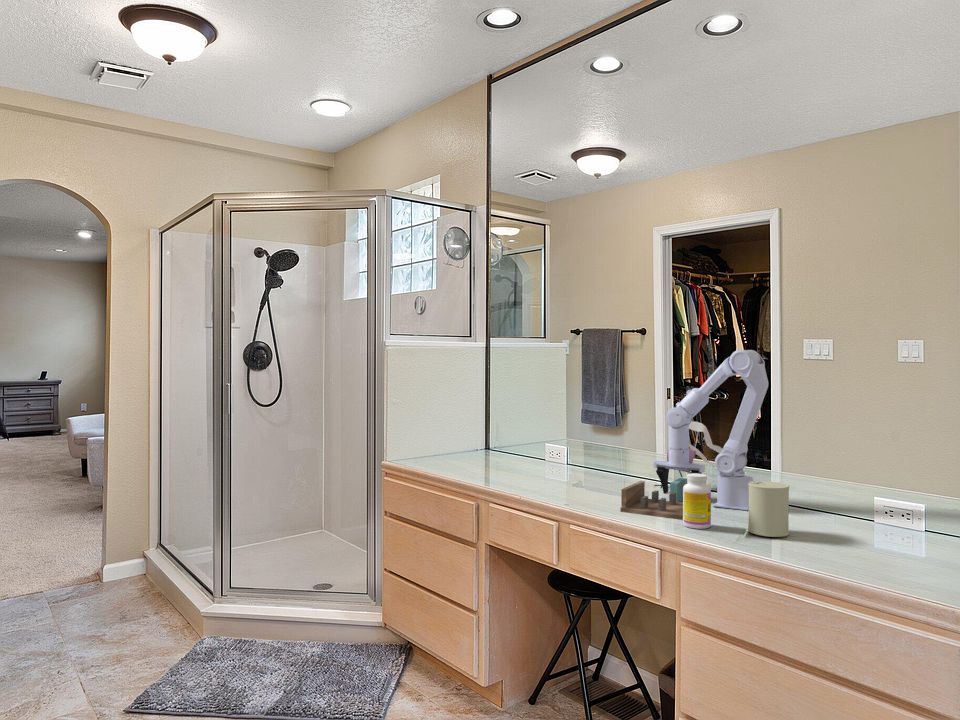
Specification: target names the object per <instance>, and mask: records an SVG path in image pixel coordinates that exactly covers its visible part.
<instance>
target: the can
mask: <svg viewBox="0 0 960 720" xmlns="http://www.w3.org/2000/svg"><path fill="white" fill-rule="evenodd" d="M748 485H749V510H748V524H747V525H748V528H747V531H748V532H749V533H751V534H754V535H756V536H762V537H771V538H780V537H781V538H783V537H787V536H789V535H790V529H789V528H790V527H789V507H790V506H789V502H790V501H789V498H790V497H789V496H790V494H789V493H790V485H789V484H787V483H783V482H779V481H767V480H755V481H754V480H753V482H749V483H748Z"/></svg>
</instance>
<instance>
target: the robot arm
mask: <svg viewBox="0 0 960 720" xmlns="http://www.w3.org/2000/svg"><path fill="white" fill-rule="evenodd" d="M765 363H766V362H765V360H764V359H763V357H762V356H761V355H760V353H759V352H758V351H756V350H753V349H747V350H746V349H736V350H735V351H733V352H732V353H731V355H730V356H728V357H727V358H725V359H724V360H723V362H722V363H720V365H719V366H718V367H717V368H716V369H715V370H714V371H713V373H712V374H711V375H710V376H709V377H708V378H707V379H706V380H705V382H704V383H703V384H702V385H701V386H700V387H699V388H698V387H694V388H692V389H688V390H687V391H686V392H685V393H686V395H685V396H684V397H683V399H681V401H677V403H676V404H675V406H674V407H671V408H670V409H668V411H667V413H666V415H665V420H666V423H667V424H668V449H669V461H665V460H664V461H663V460H654V461H653V469H656V470H655V473H656V474H657V478H658V479H659V480H660V485H661V484H662V491H663V492H662V493H663V495H664V494H668V492H669V490H668V489H669V484H668V482H669V472H670V470H674V469H675V470H677V471H679V470H685V471H690V472H689V473H688V474H691V473H697V474H704V472H705V470H706V468H705V467H706V465H705V464H698V463H697V464H696V463H689V449H690V447H689V443H690V429H689V424H690V423H691V422H693V418H695V416H696V415H697V414H698V413H699V412H701V410H702V409H703V408H704V407H706V405H707V404H708V403H710V402H709V401H710V397H709V396H710V395H711V394H712V393H713V392H714V391H715V390H717V389H718V388H719V387H720V385H722V384H723V383H724V382H725V381H726V380H727V379H728V378H729V377H733V376H736V375H739V376H740V377H741V379H742V381H743V382H744V384H745V385H746V389H745V391H744V395H743V397H742V400H741V403H740V406H739V409H738V413H737V415H736V418H735V420H734V423H733V426H732V428H731V431H730V434H729V436H728V437H729V438H728V440H727V441H726V442H725V443H724V446H723V448H722V449H723V450H722V452H721V453H718V454H717V456H716V457H715V459H714V466H715V467H716V468H715V467H714V468H715V469H716V470H717V472H716V473H717V474H716V475H717V478H716V479H717V483H716V484H717V485H716V486H717V487H716V488H717V491H716V493H717V496H716V497H717V498H716V499H717V501H715V503H714V504H712V506H713V507H716V508H724V509H731V510H732V509H733V510H741V511H749V485H748V483H749V482H753V481H754V478H753V476H748V475H745V471H744V469H745V467H746V466H747V463H748V459H747V453H748V450H749V449H748V443H749V441H750V437H751V435H752V432H753V429H754V427H755V424H756V421H757V418H758V415H759V413H760V410H761V408H762V404H763V402H764V398H765V396H766V394H767V391H768V388H769V380H768V375H767V371H766V367H765V366H766V364H765ZM674 467H677V468H674ZM675 470H674V471H675Z"/></svg>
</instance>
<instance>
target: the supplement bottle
mask: <svg viewBox="0 0 960 720" xmlns="http://www.w3.org/2000/svg"><path fill="white" fill-rule="evenodd" d="M686 478H687V484H686V485H684V487H683V500H682V503H683V520H682V524H683V526H685V527H687V528H688V529H689V528H690V529H694V530H695V529H697V530H706V529H709V528H711V525H712V523H711V521H712V518H711V517H712V489H711V487H710V486H709V485H707V480H708V475H707V474H704V473H702V474H697V473H691V474H689V473H687V475H686Z"/></svg>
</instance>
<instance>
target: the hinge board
mask: <svg viewBox="0 0 960 720" xmlns="http://www.w3.org/2000/svg"><path fill="white" fill-rule="evenodd" d="M645 483H646V482H645V481H643V480H639V481H637V482H635V483H633V484H630V485H628V486H626V487H623V488H622V489H621V501H620V503H621V507H620V509H619V510H620V512H622V513H630V514H631V513H632V514H636V515H637V514H638V515H645V516H651V517H661V518H667V519H677V520H682V521H683V502H681V501H680V502H676V493H674V492H672V493H671V494H670V493H669V497H668V498H669V499H668V500H667V498H666V497H661V498H660V497H659V496H660V494H659V492H660V491H659V490H654V491H652V492H651V498H649V496H648V495H645V490H646V488H645V485H646V484H645Z"/></svg>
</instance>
